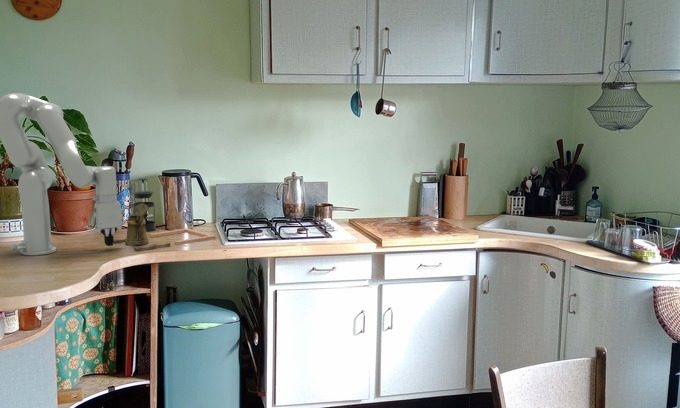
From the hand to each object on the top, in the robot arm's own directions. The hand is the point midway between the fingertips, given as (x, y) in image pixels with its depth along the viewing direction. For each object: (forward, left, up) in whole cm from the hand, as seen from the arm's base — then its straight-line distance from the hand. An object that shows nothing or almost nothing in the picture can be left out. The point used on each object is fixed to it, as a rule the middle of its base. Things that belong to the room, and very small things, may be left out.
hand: (109, 245), depth 265 cm
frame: (+31, 0, -2) cm, 31 cm away
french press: (+28, +26, -2) cm, 38 cm away
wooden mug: (+12, 0, -2) cm, 12 cm away
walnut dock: (+13, 0, -2) cm, 13 cm away
